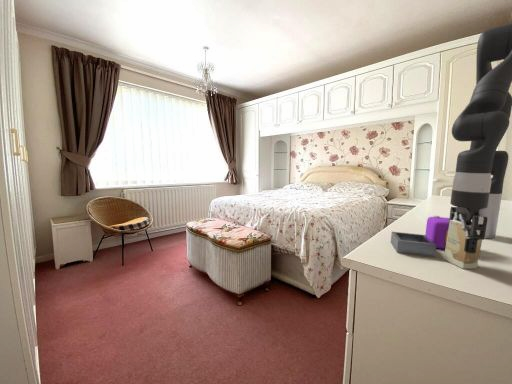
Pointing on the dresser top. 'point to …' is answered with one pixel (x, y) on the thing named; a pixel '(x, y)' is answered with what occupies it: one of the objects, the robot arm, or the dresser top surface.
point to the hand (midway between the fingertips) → (462, 247)
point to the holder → (413, 244)
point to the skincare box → (460, 247)
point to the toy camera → (437, 230)
